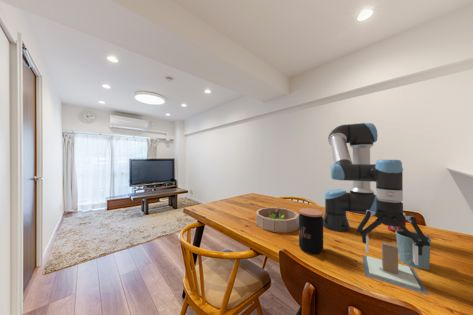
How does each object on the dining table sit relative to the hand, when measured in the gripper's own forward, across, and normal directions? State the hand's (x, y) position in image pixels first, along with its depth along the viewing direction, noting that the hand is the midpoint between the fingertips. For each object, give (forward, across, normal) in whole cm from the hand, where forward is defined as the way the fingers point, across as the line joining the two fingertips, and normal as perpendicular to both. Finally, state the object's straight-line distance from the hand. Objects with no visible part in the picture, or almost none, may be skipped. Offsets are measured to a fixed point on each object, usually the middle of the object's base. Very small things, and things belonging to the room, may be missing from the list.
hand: (389, 257), depth 64 cm
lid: (+6, 0, 0) cm, 6 cm away
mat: (+6, 0, 0) cm, 6 cm away
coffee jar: (+6, -28, +2) cm, 29 cm away
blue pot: (+6, +9, +13) cm, 17 cm away
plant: (+6, -52, +23) cm, 58 cm away
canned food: (+6, +11, +53) cm, 55 cm away
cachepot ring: (+6, -53, +24) cm, 59 cm away
